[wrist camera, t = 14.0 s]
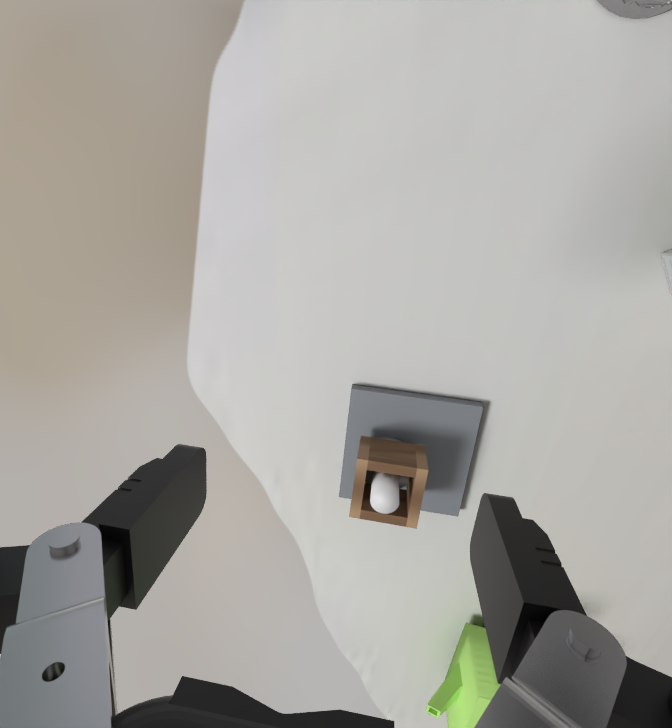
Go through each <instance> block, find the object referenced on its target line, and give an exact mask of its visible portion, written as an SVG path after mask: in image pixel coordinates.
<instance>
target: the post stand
mask: <svg viewBox="0 0 672 728" xmlns="http://www.w3.org/2000/svg"><path fill="white" fill-rule="evenodd" d="M482 411H483V405H482V403H481V402H476V401H469V400H462V399H454V398H447V397H440V396H433V395H425V394H418V393H411V392H404V391H396V390H389V389H382V388H375V387H368V386H360V385H352V389H351V397H350V406H349V414H348V423H347V432H346V440H345V449H344V458H343V466H342V475H341V484H340V492H339V497H343V498H349V499H352V492H353V485H354V478H355V470H356V463H357V456H358V450H359V444H360V438H361V436H367V437H374V438H380V439H387V440H393V441H399V442H406V443H412V444H418V445H425V448H426V455H427V463H428V475H427V480H426V485H425V490H424V495H423V500H422V504H421V509H420V510H422V511H428V512H434V513H440V514H446V515H452V516H458V515H459V511H460V506H461V502H462V498H463V493H464V489H465V485H466V480H467V476H468V472H469V467H470V463H471V459H472V454H473V450H474V446H475V441H476V437H477V433H478V428H479V424H480V420H481V415H482ZM408 479H409V477H407V476H401V475H395V474H389V473H382V472H376V471H370V470H367V471H366V478H365V483H368V484H372V485H371V496H370V504H371V506H372V508H373V509H374V510H376V511H377V512H379V513H383V514H388V513H392V512H394V511H395V510H396V509H397V508H398V506H399V489H404V490H406V489H407V484H408Z"/></svg>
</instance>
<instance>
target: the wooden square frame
mask: <svg viewBox="0 0 672 728" xmlns="http://www.w3.org/2000/svg"><path fill="white" fill-rule="evenodd" d="M367 470H370V471H376V472H382V473H389V474H395V475H401V476H407V477H409V479H408V484H407V489H406V490H404V489H399V506H398V508H397V509H396V510H395V511H394V512H392V513H388V514H383V513H379V512H377V511H376V510H374V509H373V508H372V506H371V504H370V496H371V485H372V484H368V483H365V478H366V471H367ZM427 475H428V463H427V455H426V448H425V445H418V444H412V443H406V442H399V441H393V440H387V439H380V438H374V437H367V436H361V438H360V444H359V450H358V456H357V463H356V470H355V478H354V485H353V492H352V500H351V507H350V514H349V517H354V518H359V519H365V520H371V521H376V522H382V523H388V524H394V525H399V526H405V527H411V528H416V529H417V524H418V519H419V514H420V509H421V504H422V500H423V495H424V490H425V485H426V480H427Z"/></svg>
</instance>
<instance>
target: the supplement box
mask: <svg viewBox="0 0 672 728" xmlns="http://www.w3.org/2000/svg"><path fill="white" fill-rule="evenodd" d="M661 256H662V260H663V265H664V269H665V273H666V277H667V281H668V285H669V289H670V293H671V297H672V249H671V250H669V251H666V252H663V253H661Z"/></svg>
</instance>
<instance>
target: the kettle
mask: <svg viewBox="0 0 672 728" xmlns="http://www.w3.org/2000/svg"><path fill="white" fill-rule="evenodd" d="M500 685H501V684H498V682H497V678H496V673H495V669H494V664H493V660H492V655H491V651H490V646H489V642H488V637H487V633H486V628H485V627H481V626H478V625H474V624H468V623H466V624H465V626H464V629H463V632H462V634H461V637H460V640H459V643H458V645H457V648H456V651H455V653H454V656H453V659H452V662H451V664H450V667H449V670H448V673H447V675H446V678H445V681H444V682H443V683H442V685H441V686H440V688H439V689H438V690H437V692H436V693H435V694H434V696H433V697H432V699H431V700H430V701H429V703H428V705H427V708H426V712H427V713H429V714H431V715H433V716H434V717H436V718H439V716H440V715H441V714H442V713H443V712H444V711H445V710H446V712H447V722H448V728H474V727H475V726H476V724H477V722H478V721H479V719H480V718H481V716H482V714H483V713H484V711H485V709H486V708H487V706H488V705H489V703H490V701H491V700H492V698H493V696H494V695H495V693H496V692H497V690H498V688H499V687H500Z"/></svg>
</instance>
